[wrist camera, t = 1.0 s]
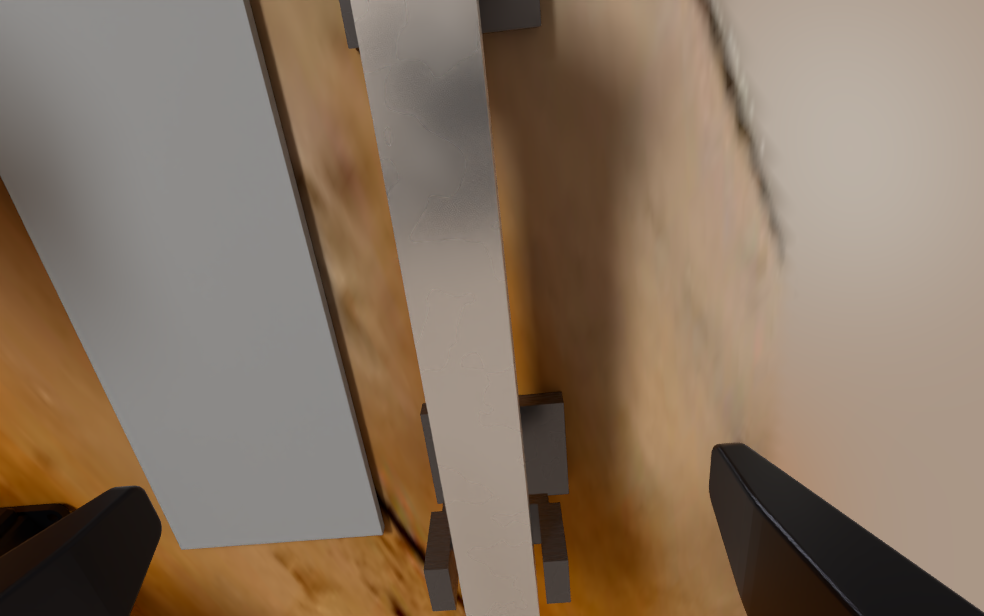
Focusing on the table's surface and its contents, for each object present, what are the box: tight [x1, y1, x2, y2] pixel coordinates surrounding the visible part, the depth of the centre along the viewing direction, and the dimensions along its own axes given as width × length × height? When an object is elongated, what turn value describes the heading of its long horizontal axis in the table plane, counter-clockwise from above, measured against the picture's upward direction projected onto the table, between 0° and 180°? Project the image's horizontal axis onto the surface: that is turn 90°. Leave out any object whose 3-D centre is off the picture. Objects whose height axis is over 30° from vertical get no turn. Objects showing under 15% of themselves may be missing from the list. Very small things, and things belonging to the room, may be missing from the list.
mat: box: [0, 0, 385, 550], centre depth 21 cm, size 28×10×1 cm, turn 6°
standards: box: [339, 0, 571, 611], centre depth 18 cm, size 24×6×7 cm, turn 6°
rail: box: [350, 0, 540, 616], centre depth 15 cm, size 23×2×2 cm, turn 6°
